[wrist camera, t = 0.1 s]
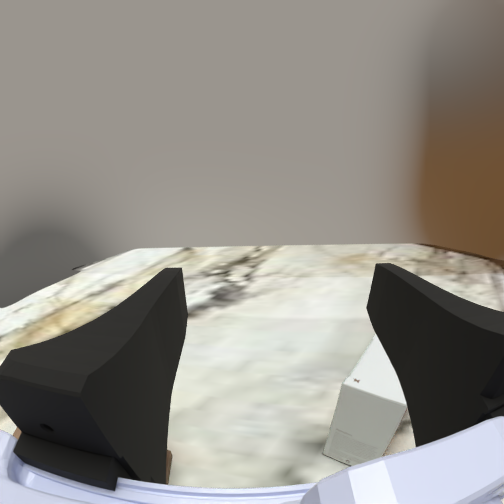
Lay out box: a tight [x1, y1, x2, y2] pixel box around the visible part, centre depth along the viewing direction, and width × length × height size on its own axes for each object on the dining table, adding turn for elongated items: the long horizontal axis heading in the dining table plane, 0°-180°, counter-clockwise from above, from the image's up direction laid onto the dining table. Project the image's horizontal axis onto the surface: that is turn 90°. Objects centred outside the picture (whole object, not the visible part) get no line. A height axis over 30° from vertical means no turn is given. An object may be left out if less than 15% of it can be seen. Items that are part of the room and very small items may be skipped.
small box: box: [323, 334, 408, 466], centre depth 24 cm, size 8×6×10 cm
